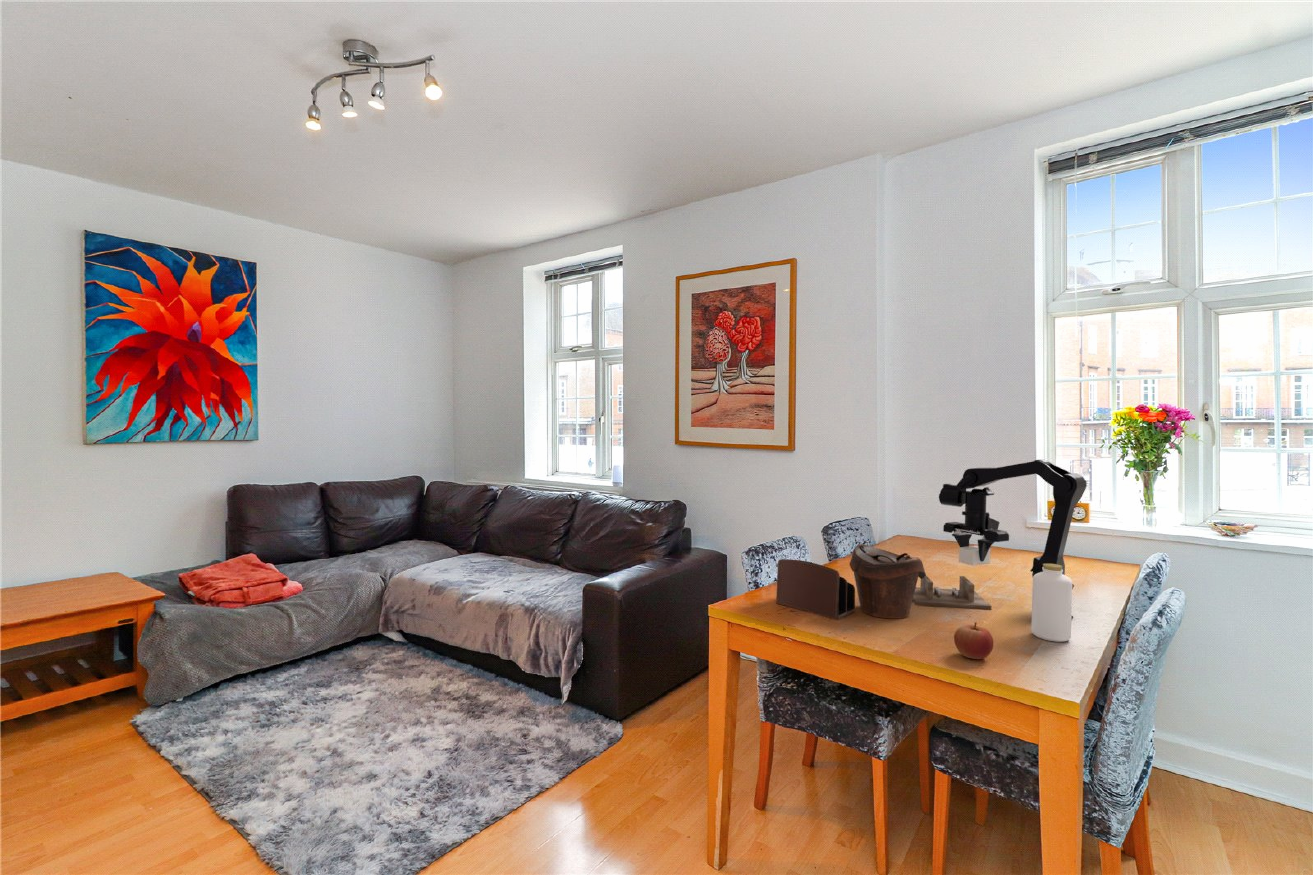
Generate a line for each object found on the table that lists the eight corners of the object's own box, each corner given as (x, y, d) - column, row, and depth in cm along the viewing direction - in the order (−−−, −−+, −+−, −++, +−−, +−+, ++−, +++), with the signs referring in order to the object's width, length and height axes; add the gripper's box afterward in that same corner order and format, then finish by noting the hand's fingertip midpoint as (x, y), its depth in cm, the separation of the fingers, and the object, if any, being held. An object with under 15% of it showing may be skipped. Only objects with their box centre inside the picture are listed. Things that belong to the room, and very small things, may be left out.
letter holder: (837, 620, 164) (838, 568, 164) (775, 604, 178) (776, 556, 178) (855, 612, 171) (856, 562, 170) (794, 597, 185) (795, 551, 185)
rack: (991, 609, 174) (991, 588, 174) (916, 604, 178) (917, 584, 178) (973, 593, 190) (974, 574, 190) (905, 589, 194) (906, 570, 193)
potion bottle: (1033, 629, 158) (1035, 559, 157) (1072, 636, 153) (1074, 565, 152) (1028, 637, 151) (1030, 565, 151) (1068, 646, 146) (1071, 571, 146)
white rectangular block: (972, 565, 184) (973, 550, 184) (958, 562, 189) (959, 547, 188) (990, 563, 187) (990, 548, 187) (975, 559, 192) (975, 545, 192)
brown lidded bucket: (932, 625, 160) (932, 556, 160) (852, 620, 164) (853, 553, 164) (917, 605, 178) (917, 544, 177) (845, 601, 182) (846, 541, 181)
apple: (983, 651, 143) (984, 617, 142) (999, 664, 135) (1000, 628, 134) (948, 649, 143) (948, 616, 143) (961, 663, 135) (962, 627, 135)
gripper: (1022, 511, 182) (1020, 563, 183) (967, 503, 199) (965, 551, 200) (996, 513, 178) (995, 567, 178) (942, 505, 194) (941, 554, 195)
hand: (974, 559), depth 188 cm, fingers closed on white rectangular block, 5 cm apart
